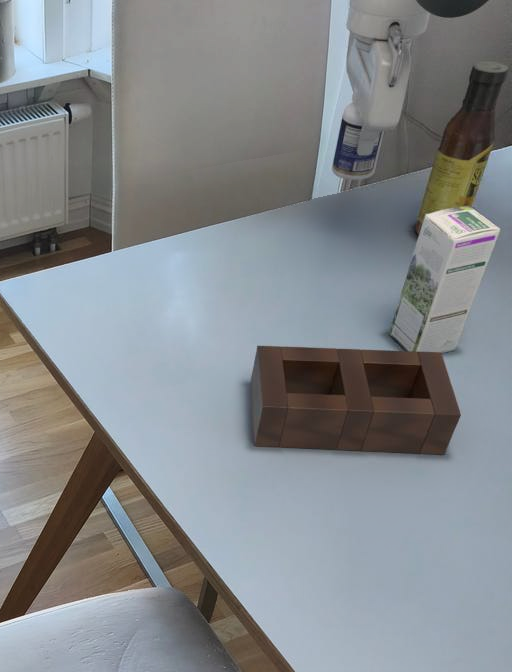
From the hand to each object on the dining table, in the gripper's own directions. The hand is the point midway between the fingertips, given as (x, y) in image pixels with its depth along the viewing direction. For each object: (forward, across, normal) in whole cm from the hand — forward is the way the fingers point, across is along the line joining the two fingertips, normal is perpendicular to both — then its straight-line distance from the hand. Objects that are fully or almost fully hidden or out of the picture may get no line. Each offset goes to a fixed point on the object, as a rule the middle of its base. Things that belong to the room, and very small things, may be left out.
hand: (359, 141), depth 110 cm
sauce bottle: (+13, +2, -13) cm, 19 cm away
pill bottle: (+4, 0, 0) cm, 4 cm away
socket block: (+12, -40, +4) cm, 42 cm away
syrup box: (+13, -25, -7) cm, 29 cm away
